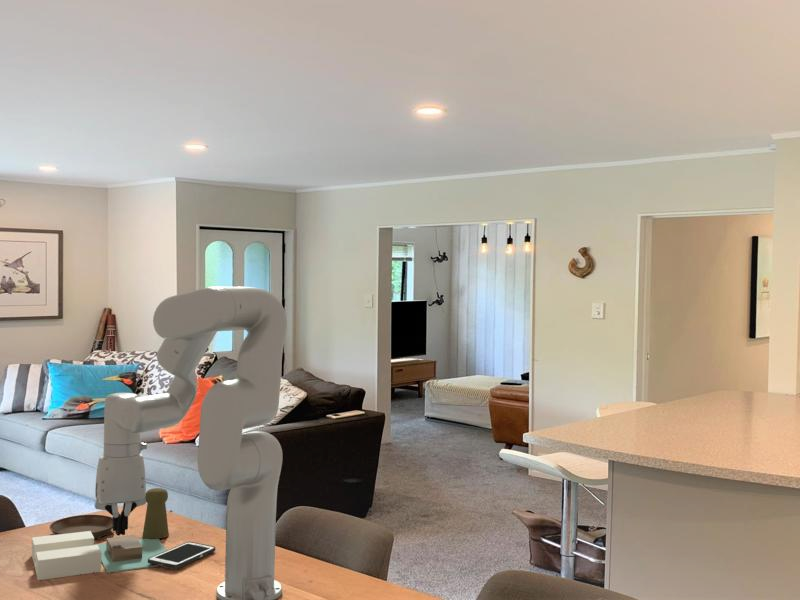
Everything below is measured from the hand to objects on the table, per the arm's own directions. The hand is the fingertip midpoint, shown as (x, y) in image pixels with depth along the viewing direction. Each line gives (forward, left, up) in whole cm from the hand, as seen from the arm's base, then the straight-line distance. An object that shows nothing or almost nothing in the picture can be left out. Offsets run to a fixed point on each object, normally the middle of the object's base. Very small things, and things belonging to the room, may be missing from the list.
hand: (120, 533), depth 177 cm
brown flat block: (0, -1, -2) cm, 3 cm away
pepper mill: (+11, -10, -5) cm, 16 cm away
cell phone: (-7, -12, -5) cm, 15 cm away
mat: (0, -3, -5) cm, 6 cm away
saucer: (+20, +5, -6) cm, 21 cm away
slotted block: (0, +11, -5) cm, 12 cm away
